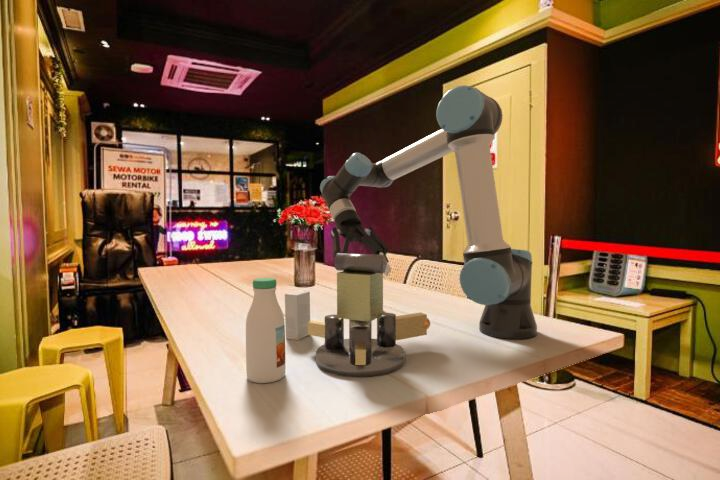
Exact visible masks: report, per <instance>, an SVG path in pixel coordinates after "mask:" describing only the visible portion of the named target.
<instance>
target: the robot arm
mask: <svg viewBox="0 0 720 480" xmlns="http://www.w3.org/2000/svg"><path fill="white" fill-rule="evenodd" d="M435 114H436V116H435V117H436V121H437V123H438V126H439V127H440V128H441V129H438V130H437V131H435V132H433V133H431V134H429V135H427V136H425V137H423V138H421V139H419V140H418V141H416V142H413V143H411V144H410V145H408V146H405V147H404V148H403V149H400V150H399V151H397V152H395V153H393V154H391V155H389V156H386V157H385V158H383V159H382V160H381V159H380V160H379V161H377V162H375V163H373V162H372V161H371V160H370V159H369V157H367V156H366V155H364V154H362V153H361V152H354V153H352V154H351V155H350V156H349V158H348V159H346V161H345V162H344V163H343V165H342V166H341V168H340V169H339V170H338V172H337V173H336V175H329V176H327V177H326V178H324V179H323V180H322V181H321V183H320V186H319V191H320V192H321V196H322V199H323V200H324V202H325V204H326V206H327V208H328V211H329V213H330V216H331V217H332V220H333V222H334V225H335V227H332V229H331V232H330V233H329V235H330V237H331V240H332V252H333V258H334V259H335V256H336V254H337V253H348V250H349V246H350V243H354V242H356V243H360V244H361V245H364V246H365V247H366V248H367V249H369V251H371V252H372V253H373V254H374V255H385V257H386V261H387V266H386V270H385V272H384V273H383V275H384V276H386V277H387V276H389V274H390V273H391V271H392V268H391V267H390V265H389V258H388V256H387V254H388V252H389V250H390V249H389V247H388V246H387V244H385V242H384V241H383V240H382V239H381V238H380V237H379V235H378V234H377V233H376V231H375V230H374V227H372V226H369V228H365V227H364V226H363V225H362V221H361V218H360V216H359V215H358V212H357V211H356V208H355V206H354V204H353V203H352V201H351V198H350V196H352V194H353V193H354V192H355V191H356V189H357V188H358V187H360V186H362V187H372V188H373V187H375V188H379V189H381V188H387V187H390V186H391V185H392V184H393V182H394V181H395V180H397V179H398V178H401V177H403V176H405V175H407V174H409V173H412V172H415V170H417V169H420V168H422V167H424V166H427V165H428V164H430V163H433V162H434V161H437V160H438V159H441V158H444V157H445V156H448V155H449V154H451V153H454V156H455V162H456V170H457V176H458V183H459V191H460V198H461V204H462V212H463V218H464V219H463V220H464V225H465V235H466V241H467V246H466V247H465V248H464V250H463V251H462V255H463V263H464V264H463V266H462V268H461V270H460V273H459V284H460V288H461V291H462V292H463V293H464V294H465V296H466V297H467V298H468V299H470V300H471V301H472V302H474V303H476V304H479V305H483V306H484V308H483V311H482V312H481V313H482V314H481V316H480V319H479V325H478V327H479V332H481V333H482V334H485V335H487V336H491V337H494V338H500V339H509V340H523V339H525V340H526V339H530V338H534V337H536V336H537V335H538V324H537V322H536V318H535V315H534V312H533V309H532V306H531V305H532V303H531V302H532V274H533V273H532V271H533V270H532V267H533V261H532V260H533V257H532V256H533V255H532V253H531V252H530V251H529V250H525V249H516V248H512V245H510V244H508V243H507V242H506V241H505V240H504V238H503V236H504V235H503V230H502V223H501V222H502V220H501V216H500V209H499V202H498V201H499V200H498V196H497V187H496V181H495V175H494V174H495V173H494V168H493V167H494V166H493V161H492V159H493V158H492V156H491V155H492V153H491V147H490V146H491V144H492V143H493V141H494V140H495V135H496V133H497V132H498V131H499V129H500V127H501V125H502V122H503V112H502V107H501V106H500V104H499V103H498V102H497V100H496V99H494V98H493V97H490V96H488V95H487V94H485V93H484V92H482V91H481V90H480V89H478V88H477V87H474V86H470V85H465V84H464V85H462V84H461V85H458V86H454V87H452V88H451V89H449V90H448V91H447V92H446V93H444V94H443V96H442V97H441V99H440V101H439V102H438V105H437V108H436V113H435ZM340 236H341V237H342V238H344V240H343V244H342V248H341V242H340Z"/></svg>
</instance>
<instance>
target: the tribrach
mask: <svg viewBox="0 0 720 480" xmlns="http://www.w3.org/2000/svg"><path fill="white" fill-rule="evenodd" d="M386 257H387V256H386ZM386 257H385V255H376V254H373V253H371V254H369V253H351V252H350V253H348V252H347V253H337V254H336V256H335V258H334V261H333V264H334V268H335V270H336V271H338V272H336V314H328V315H325V316H324V321H318V320H310V322H308V336H311V337H312V336H313V337H317V338H318V337H319V338H324V344H322V345H320V346H318V348H317V349H316V351H315V364H316V366H317V367H318V368H319V369H320V370H323V371H324V372H325V373H328V374H332V375H336V376H339V377H340V376H341V377H348V378H349V377H350V378H371V377H379V376H384V375H389V374H391V373H395V372H396V371H399V370H400V369H402V368H403V367H404V365H405V363H406V351H405V348H404V347H402V346H401V345H399V344H398V343H396V346H394V347H389V348H384V347H379V346H377V338H372V337H373V336H372V330H373V329H372V325H373V324H372V323H373V321H374V320H377V318H378V317H380V316H381V315H383V313H384V272H385V270H386V266H387V261H386ZM344 320H348V327H349V329H348V330H349V331H348V333H349V335H348V336H349V337H348V338H345V333H344V332H345V326H344V325H345V321H344Z"/></svg>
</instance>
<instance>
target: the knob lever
mask: <svg viewBox="0 0 720 480" xmlns="http://www.w3.org/2000/svg"><path fill="white" fill-rule="evenodd" d="M430 327H431V321H430V319H429V318H428V315H427V314H426V313H423V312H415V313H409V314H402V315H401V314H400V315H396V314H395V313H392V312H383V315H381V316H380V317H378V318H376V339H377V346H379V347H384V348H389V347H394V346H396V344H397V341H401V340H406V339H410V338H412V339H413V338H417V337H422V336H427V334H428V329H429V328H430Z"/></svg>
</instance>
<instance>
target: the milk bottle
mask: <svg viewBox="0 0 720 480" xmlns="http://www.w3.org/2000/svg"><path fill="white" fill-rule="evenodd" d="M252 291H253V293H254V294H253V297H252V301H251V304H250V307H249V309H248V311H247V314H246V319H245V356H246V357H245V358H246V359H245V362H246V367H245V369H246V377H247V380H248V381H249V382H252V383H256V384H270V383H274V382H277V381H280V380H281V379H283V378H284V377H285V375H286V324H285V315H284V313H283V310H282V308H281V306H280V304H279V302H278V299H277V295H276V294H277V293H276V291H277V279H276V278H273V277H257V278H254V279H253V280H252Z"/></svg>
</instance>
